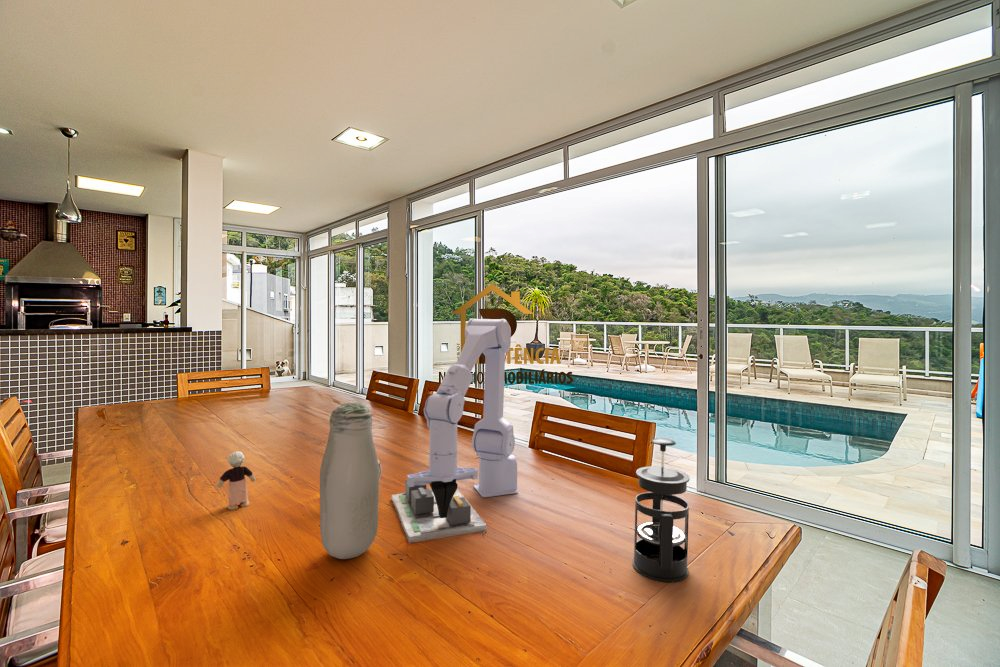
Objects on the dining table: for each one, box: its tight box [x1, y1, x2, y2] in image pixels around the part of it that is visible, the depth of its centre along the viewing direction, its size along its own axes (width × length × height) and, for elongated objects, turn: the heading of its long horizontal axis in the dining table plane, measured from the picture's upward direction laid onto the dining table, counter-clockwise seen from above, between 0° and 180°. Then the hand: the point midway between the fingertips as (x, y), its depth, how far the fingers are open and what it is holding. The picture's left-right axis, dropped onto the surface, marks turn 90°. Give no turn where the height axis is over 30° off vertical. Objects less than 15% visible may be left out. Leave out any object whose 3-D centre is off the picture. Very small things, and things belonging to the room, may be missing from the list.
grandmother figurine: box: [216, 450, 257, 511], centre depth 107 cm, size 8×4×13 cm, turn 145°
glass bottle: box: [319, 402, 380, 560], centre depth 86 cm, size 10×10×28 cm
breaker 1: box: [404, 479, 427, 502], centre depth 111 cm, size 4×5×4 cm
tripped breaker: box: [447, 496, 472, 525], centre depth 99 cm, size 4×5×4 cm
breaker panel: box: [391, 488, 487, 544], centre depth 105 cm, size 16×23×2 cm
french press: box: [632, 437, 691, 583], centre depth 82 cm, size 12×9×23 cm
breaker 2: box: [411, 488, 434, 515], centre depth 104 cm, size 4×5×4 cm
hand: (442, 516), depth 98 cm, fingers closed
